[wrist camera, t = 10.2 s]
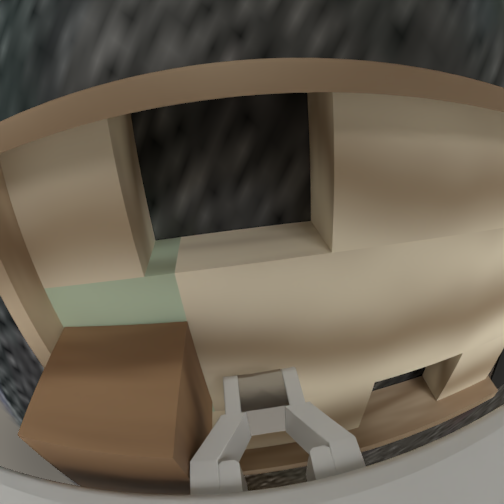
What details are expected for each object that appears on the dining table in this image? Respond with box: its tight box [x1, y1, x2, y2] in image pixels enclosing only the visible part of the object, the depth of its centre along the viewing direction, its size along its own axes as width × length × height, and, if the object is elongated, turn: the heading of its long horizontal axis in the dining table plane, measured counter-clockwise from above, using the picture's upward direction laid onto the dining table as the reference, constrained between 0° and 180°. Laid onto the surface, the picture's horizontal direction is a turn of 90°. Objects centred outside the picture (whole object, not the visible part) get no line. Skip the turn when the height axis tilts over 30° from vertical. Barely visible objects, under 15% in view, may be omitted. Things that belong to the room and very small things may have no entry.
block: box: [18, 321, 213, 495], centre depth 9 cm, size 5×5×5 cm
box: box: [0, 58, 504, 475], centre depth 13 cm, size 20×25×4 cm
